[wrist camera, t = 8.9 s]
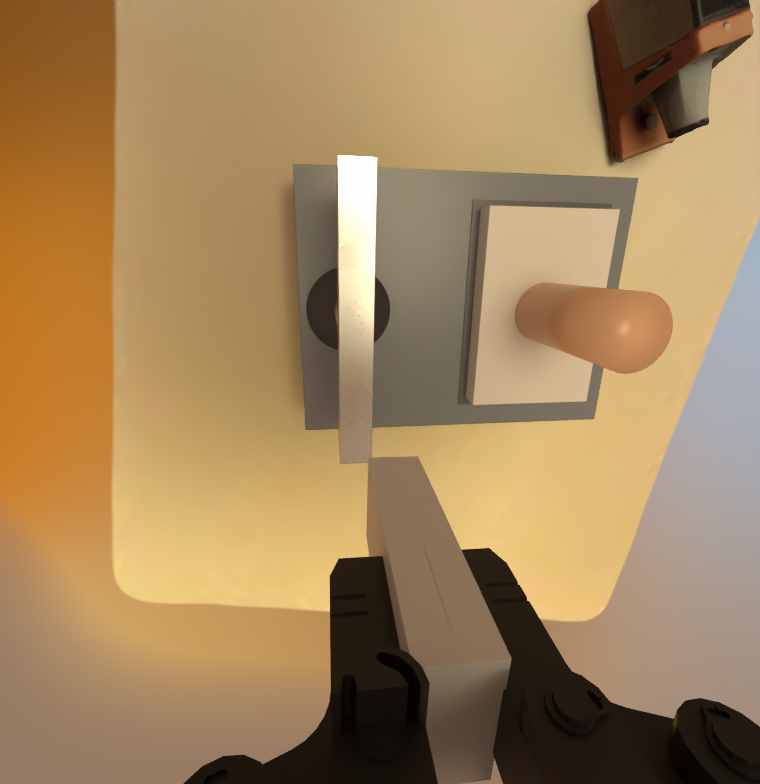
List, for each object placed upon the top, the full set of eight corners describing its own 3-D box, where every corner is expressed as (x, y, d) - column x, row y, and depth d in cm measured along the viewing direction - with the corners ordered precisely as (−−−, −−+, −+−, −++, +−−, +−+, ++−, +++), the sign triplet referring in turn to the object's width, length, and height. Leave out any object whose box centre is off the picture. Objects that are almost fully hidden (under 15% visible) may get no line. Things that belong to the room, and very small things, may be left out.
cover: (480, 208, 24) (570, 178, 16) (603, 212, 25) (754, 185, 16) (465, 397, 28) (531, 461, 19) (573, 394, 29) (683, 453, 20)
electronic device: (607, 167, 30) (696, 135, 23) (582, 11, 27) (676, -83, 19) (663, 145, 30) (770, 106, 23) (644, -14, 27) (761, -116, 19)
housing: (298, 180, 27) (292, 163, 22) (589, 191, 30) (640, 177, 25) (308, 405, 32) (305, 431, 27) (557, 397, 35) (595, 420, 30)
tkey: (335, 417, 27) (338, 463, 21) (332, 183, 23) (335, 154, 17) (362, 417, 27) (373, 462, 21) (364, 185, 23) (379, 157, 17)
